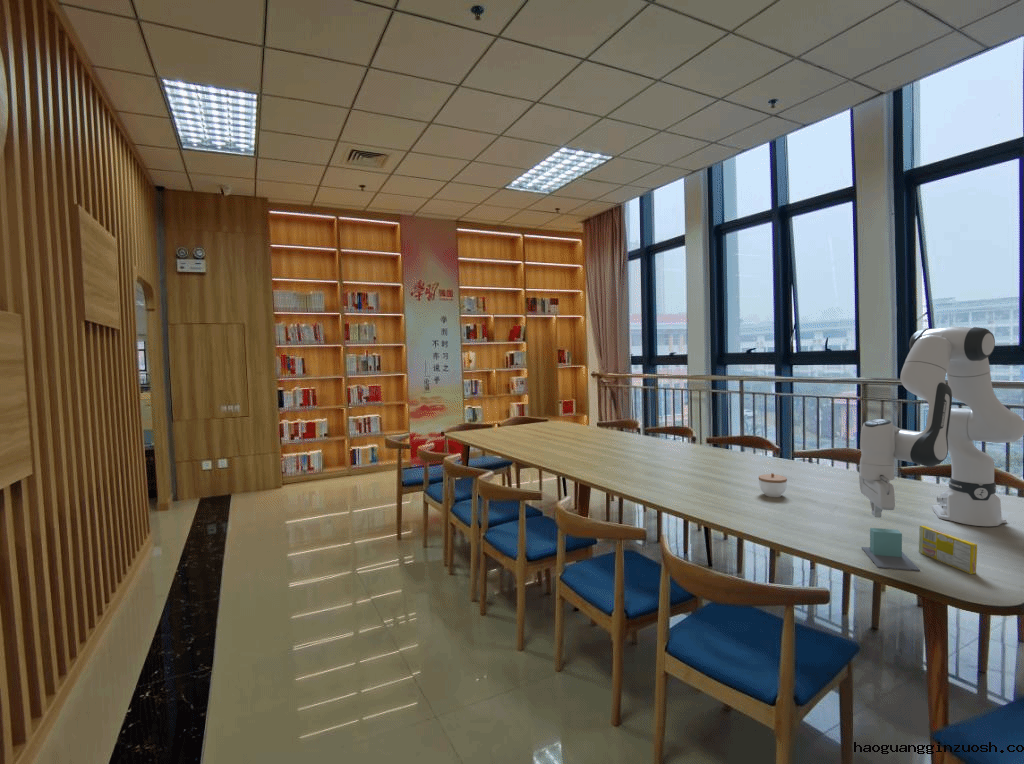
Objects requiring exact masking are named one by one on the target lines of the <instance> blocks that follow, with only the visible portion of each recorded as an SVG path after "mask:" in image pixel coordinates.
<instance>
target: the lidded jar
mask: <svg viewBox="0 0 1024 764" xmlns="http://www.w3.org/2000/svg"><path fill="white" fill-rule="evenodd" d="M787 481H788V478H787V477H786V476H784V475H779V474H775V473H774V472H772V473H770V474H769V473H767V474H760V475H759V476H758V486H759V489H760V491H761V493H763V494H764V495H765V496H766V497H768V498H781V496H782V495H783V494H784V493H785V492H786V490H787Z"/></svg>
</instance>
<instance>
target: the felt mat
mask: <svg viewBox="0 0 1024 764" xmlns="http://www.w3.org/2000/svg"><path fill="white" fill-rule="evenodd" d="M861 550H863V552H864V553H865V554H866V556H868V557H869V559H870V560H871V561H872V563H873V562H874V563H873V564H874V565H875V567H876V568H878V569H888V570H889V569H890V570H902V571H913V572H914V571H915V572H921V569H920V568H919V567H918V566H917V565H916V564H915V563H914V562H913V561H912V559H910V558H909V557H908V556H907V555H906V554H905V553H904V552H903V551H902V557H894V556H882V555H873V553H872V552H871V551H870V546H869V547H868V546H861Z"/></svg>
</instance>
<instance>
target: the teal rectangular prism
mask: <svg viewBox="0 0 1024 764" xmlns="http://www.w3.org/2000/svg"><path fill="white" fill-rule="evenodd" d="M869 547H870V551H871V552H872V553H873V555H882V556H894V557H902V552H903V549H902V548H903V533H902V532H901V531H900V530H899V529H894V528H892V529H891V528H876V527H870V528H869Z"/></svg>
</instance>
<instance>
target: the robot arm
mask: <svg viewBox="0 0 1024 764" xmlns="http://www.w3.org/2000/svg"><path fill="white" fill-rule="evenodd" d="M908 346H909V352H908V353H907V356H906V358H905V360H904V363H903V366H902V368H901V371H900V379H899V380H900V382H901V384H902V386H903V387H904V388H905V389H906V391H908V392H909V393H911V394H913V395H915V396H916V397H919V398H921V399H923V400H925V401H927V404H928V410H927V418H926V424H925V428H924V429H923V430H922V431H917V430H910V429H905V428H900V427H898V426H896V425H894V424H893V422H892V421H891V420H889V419H885V418H874V419H873V418H872V419H869V420H867V421H864V422H863V424H862V426H861V431H860V438H859V440H860V442H859V449H860V452H861V454H860V459H859V464H858V465H857V468H856V470H857V472H858V479H859V481H858V482H859V491H860V494H862V495H863V496H864V497H866V498H867V499H868V500H869V503H870V508H871V515H872V516H873V517H875V518H882V512H883V511H884V510H886V511H894V510H895V507H896V500H895V499H896V498H895V497H896V495H895V487H894V485H893V484H892V483H891V482H890V481H894V480H895V471H896V470H895V469H896V468H895V466H896V465H895V464H896V462H895V460H898V461H904V462H909V463H913V464H917V465H920V466H925V467H929V468H931V467H936V466H938V465H940V464H941V463H943V462H944V461H945V460H946V459H947V456H948V454H949V457H950V464H951V477H950V479H949V480H948V481H949V482H948V488H947V489H946V490H944V491H943V492H941V493H940V496H937V497H936V503H938V504H932V505H931V508H932V510H933V511H934V512H935V514H936V516H937V517H938V519H941V520H946V521H951V522H956V523H959V524H963V525H968V526H976V527H977V526H978V527H997V526H1000V525H1001V524H1006V523H1007V519H1006V518H1004V517H1003V515H1002V514H1003V513H1002V503H1001V501H1002V500H1001V498H1000V497H999V496H997V495H996V493H997V483H996V482H995V461H994V459H993V458H992V456H990V455H989V454H987V453H986V452H984V451H982V450H979V448H977V447H976V446H975V444H974V442H983V443H984V442H985V443H992V444H993V443H994V444H995V443H996V444H1001V443H1002V444H1004V443H1016V442H1017V441H1019V440H1020V439H1021V438H1022V437H1023V436H1024V419H1022V417H1021V416H1020V415H1019V414H1017V413H1016V412H1015V411H1012V410H1010V409H1009V408H1007V407H1006V406H1005V405H1004V404H1003V403H1002V402H1001V400H999V399H998V397H997V396H996V394H995V391H994V388H993V382H992V376H991V367H990V366H991V365H990V360H989V357H990V356H991V355H992V354H993V352H994V349H995V346H996V340H995V336H994V334H993V333H992V332H991V331H990V330H989V329H988V328H984V327H979V326H978V327H976V326H973V327H969V326H968V327H966V326H965V327H964V326H948V327H936V328H930V327H929V328H928V327H927V328H923V329H918V330H917V331H916V332H914V333H913V334H912V335H911V337H910V339H909V343H908ZM946 377H947V379H946ZM946 380H947V384H946ZM953 399H955V400H957V401H959V402H961V403H963V404H965V405H966V406H968V408H966V407H965V408H964V407H963V408H961V407H952V405H953V404H952V403H953ZM973 441H974V442H973Z"/></svg>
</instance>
